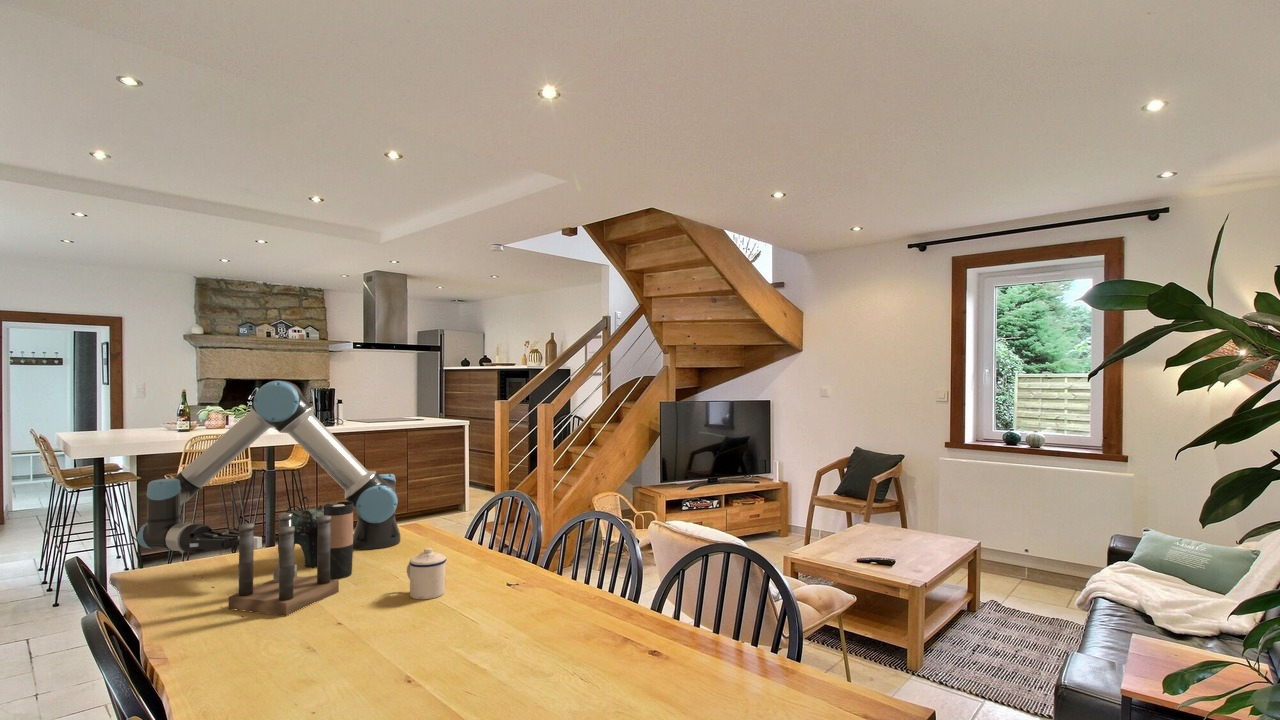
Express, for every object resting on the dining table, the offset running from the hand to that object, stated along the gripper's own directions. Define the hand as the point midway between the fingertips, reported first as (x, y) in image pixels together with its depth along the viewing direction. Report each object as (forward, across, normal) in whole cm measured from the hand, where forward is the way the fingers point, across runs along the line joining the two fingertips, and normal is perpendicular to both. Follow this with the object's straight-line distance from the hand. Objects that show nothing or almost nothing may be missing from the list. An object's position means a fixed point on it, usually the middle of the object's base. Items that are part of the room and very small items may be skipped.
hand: (259, 542), depth 169 cm
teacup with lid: (+46, -6, -12) cm, 48 cm away
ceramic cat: (-6, -20, -12) cm, 24 cm away
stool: (+15, +7, -12) cm, 21 cm away
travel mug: (+14, -13, -12) cm, 22 cm away
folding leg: (+9, +1, -7) cm, 12 cm away
